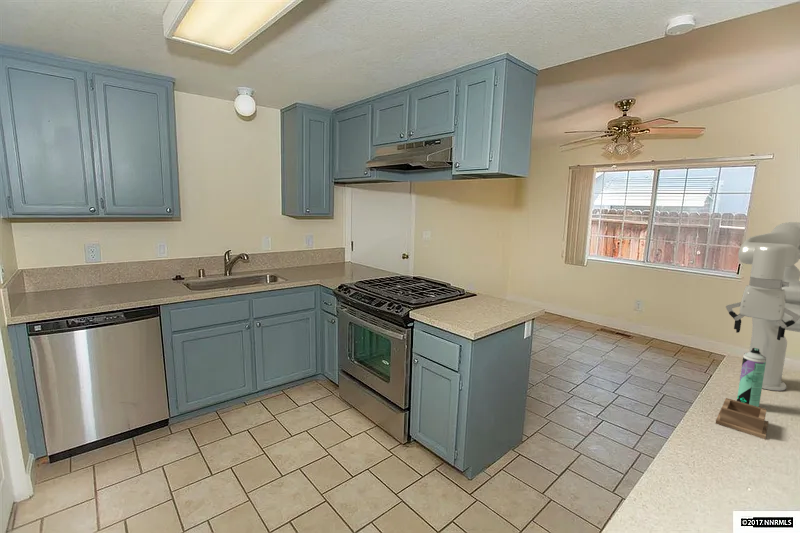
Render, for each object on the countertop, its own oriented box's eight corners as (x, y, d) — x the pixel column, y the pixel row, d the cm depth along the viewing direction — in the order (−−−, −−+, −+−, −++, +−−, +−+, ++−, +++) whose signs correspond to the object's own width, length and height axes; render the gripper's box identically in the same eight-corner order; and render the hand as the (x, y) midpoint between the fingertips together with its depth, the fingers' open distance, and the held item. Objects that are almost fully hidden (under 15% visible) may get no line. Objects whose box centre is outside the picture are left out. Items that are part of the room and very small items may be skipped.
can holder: (721, 410, 122) (723, 396, 121) (768, 424, 114) (770, 409, 113) (715, 423, 114) (717, 408, 114) (765, 439, 106) (767, 423, 106)
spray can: (749, 401, 127) (757, 346, 124) (763, 410, 122) (772, 352, 119) (732, 401, 128) (740, 345, 125) (745, 409, 122) (753, 351, 119)
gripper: (805, 286, 115) (796, 339, 117) (731, 278, 127) (724, 327, 130) (805, 289, 110) (796, 345, 112) (728, 281, 122) (721, 331, 125)
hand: (757, 335), depth 121 cm, fingers open, 9 cm apart
